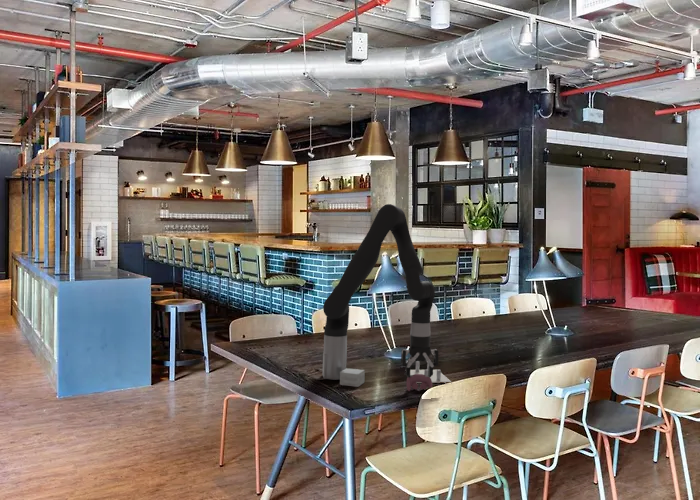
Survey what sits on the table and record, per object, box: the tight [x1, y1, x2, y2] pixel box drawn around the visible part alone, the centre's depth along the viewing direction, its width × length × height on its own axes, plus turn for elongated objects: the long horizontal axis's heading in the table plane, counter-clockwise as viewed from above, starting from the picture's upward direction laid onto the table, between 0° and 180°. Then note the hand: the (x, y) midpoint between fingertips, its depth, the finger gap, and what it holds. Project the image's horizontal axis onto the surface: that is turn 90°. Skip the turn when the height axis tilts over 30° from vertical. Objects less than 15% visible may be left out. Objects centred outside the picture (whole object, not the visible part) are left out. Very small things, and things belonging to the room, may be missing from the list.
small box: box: [339, 367, 366, 388], centre depth 246 cm, size 8×8×5 cm
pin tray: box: [405, 361, 452, 383], centre depth 258 cm, size 14×20×5 cm
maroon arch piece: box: [405, 374, 434, 392], centre depth 239 cm, size 10×5×7 cm, turn 92°
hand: (419, 376), depth 240 cm, fingers closed on maroon arch piece, 7 cm apart
